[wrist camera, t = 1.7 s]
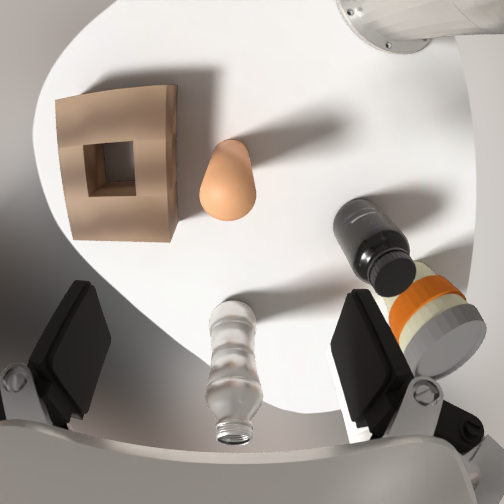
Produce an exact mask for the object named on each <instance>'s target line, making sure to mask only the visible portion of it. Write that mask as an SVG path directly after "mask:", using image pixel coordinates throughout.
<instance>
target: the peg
mask: <svg viewBox="0 0 504 504" xmlns="http://www.w3.org/2000/svg"><path fill="white" fill-rule="evenodd" d="M199 196H200V202H201V204H202V206H203V208H204V210H205V211H206V212H207V213H208V214H209V215H210V216H212V217H214V218H216V219H219V220H223V221H233V220H237V219H240V218H242V217H244V216H245V215H246V214H248V213H249V212H250V210H251V209H252V207H253V206H254V203H255V200H256V189H255V183H254V178H253V173H252V167H251V162H250V156H249V152H248V149H247V148H246V146H245V145H244V144H243V143H241V142H239V141H237V140H225V141H223V142H221V143H219V144H218V145H217V146H216V147H215V149H214V151H213V154H212V157H211V159H210V162H209V165H208V168H207V170H206V173H205V176H204V179H203V182H202V185H201V187H200V193H199Z"/></svg>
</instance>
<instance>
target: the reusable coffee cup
mask: <svg viewBox="0 0 504 504" xmlns="http://www.w3.org/2000/svg"><path fill="white" fill-rule="evenodd" d="M413 262H414V263H415V266H416V271H417V272H416V276H415V279H414V281H413V283H412V284H411V286H410V287H409V288H408V289H407V290H405V292H403V293H401V294H400V295H397V296H394V297H389V298H388V297H383V299H384V301H385V304H386V307H387V310H388V312H389V323H390V326H391V329H392V332H393V334H394V336H395V338H396V340H397V342H398V344H399V346H400V348H401V350H402V352H403V354H404V356H405V358H406V360H407V363H408V365H409V367H410V369H411V371H412V373H413V375H414V377H419V376H426V377H430V378H432V379H433V380H435V381H437V380H439V379H442V378H444V377H446V376H447V375H449V374H451V373H452V372H454V371H456V370H457V369H458V368H459V367H461V366H462V365H463V364H464V363H465V362H466V361H468V360H469V359H470V358H471V357H472V355H474V353H475V352H476V351H477V350H478V348H479V347H480V345H481V344H482V342H483V340H484V337H485V334H486V324H485V322H484V321H483V319H482V317H481V315H480V313H479V312H478V310H477V308H475V306H474V305H471V304H468V303H467V302H466V298H465V296H464V295H463V294H462V293H461V292H460V291H459V290H458V289H457V288H456V287H455V286H453V285H452V284H451V283H450V282H449V281H448V280H447V279H446V278H444V277H442V276H440V275H437V274H436V273H435V272H433V271H432V270H431V269H430V268H429V267H428V266H426V265H425V264H424V263H422V262H419V261H413Z"/></svg>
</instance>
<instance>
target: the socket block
mask: <svg viewBox="0 0 504 504" xmlns="http://www.w3.org/2000/svg"><path fill="white" fill-rule="evenodd" d="M55 108H56V129H57V142H58V152H59V162H60V170H61V177H62V184H63V190H64V196H65V202H66V207H67V213H68V218H69V223H70V227H71V232H72V236H73V240H93V241H132V242H167V243H170V242H171V239H172V236H173V234H174V231H175V229H176V226H177V224H178V207H177V175H176V110H177V85H153V86H141V87H131V88H122V89H114V90H107V91H100V92H94V93H88V94H82V95H77V96H72V97H67V98H62V99H58V100H55ZM124 141H133V151H134V169H135V181H112V182H106V173H105V162H104V149H103V143H111V142H124Z"/></svg>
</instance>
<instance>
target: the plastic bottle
mask: <svg viewBox="0 0 504 504" xmlns="http://www.w3.org/2000/svg"><path fill="white" fill-rule="evenodd" d="M256 323H257V321H256V317H255V314H254V312H253V310H252V309H251V307H250V306H248V305H247V304H245V303H243V302H241V301H236V300H230V301H226V302H223V303H221V304H220V305H218V306H217V307H216V308H215V309H214V310H213V311H212V314H211V317H210V320H209V329H210V335H211V343H212V358H211V368H210V374H209V378H208V383H207V387H206V392H205V400H206V404H207V407H208V408H209V410H210V412H211V413H212V414H213V416H214V417H215V418H216V419H217V420H218V422H217V423H216V427H215V428H216V440H217V442H218V443H220V444H223V445H230V446H238V445H244V444H247V443H250V442H251V440H252V429H253V425H252V423H251V422H250V420H251V419H252V417H254V415H255V414H256V413H257V411H258V410H259V408H260V406H261V404H262V400H263V392H262V388H261V384H260V380H259V377H258V373H257V368H256V361H255V355H254V337H255V333H256Z"/></svg>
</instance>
